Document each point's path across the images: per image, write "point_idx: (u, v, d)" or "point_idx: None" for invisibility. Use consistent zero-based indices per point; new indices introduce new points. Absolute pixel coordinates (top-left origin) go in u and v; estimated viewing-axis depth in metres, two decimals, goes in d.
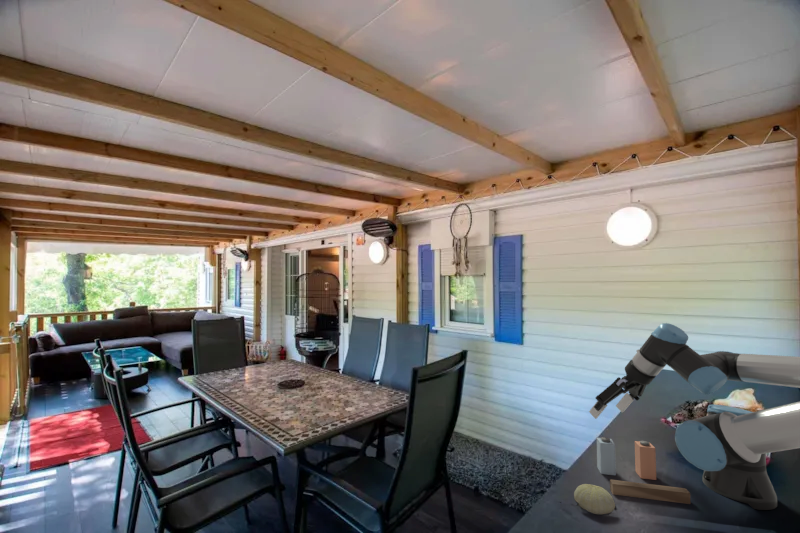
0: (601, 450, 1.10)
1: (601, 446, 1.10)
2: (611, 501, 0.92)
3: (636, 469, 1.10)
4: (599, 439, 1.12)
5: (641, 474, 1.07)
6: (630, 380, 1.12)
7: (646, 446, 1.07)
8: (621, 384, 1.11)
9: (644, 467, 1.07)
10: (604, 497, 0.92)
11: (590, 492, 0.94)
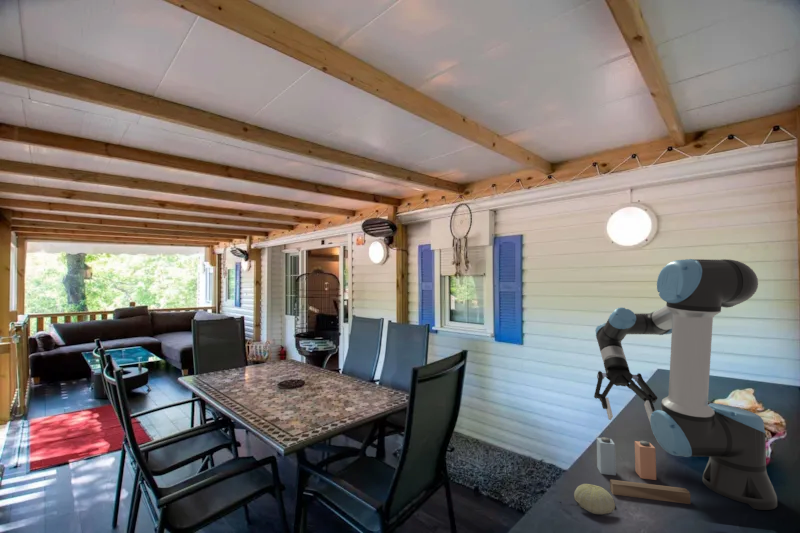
0: (601, 450, 1.10)
1: (601, 446, 1.10)
2: (611, 501, 0.92)
3: (636, 469, 1.10)
4: (599, 439, 1.12)
5: (641, 474, 1.07)
6: (606, 370, 1.32)
7: (646, 446, 1.07)
8: (598, 373, 1.31)
9: (644, 467, 1.07)
10: (604, 497, 0.92)
11: (590, 491, 0.94)
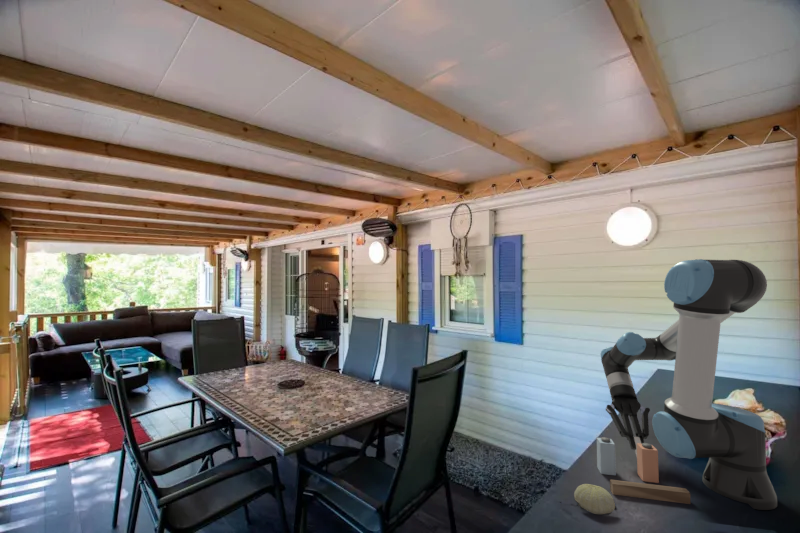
0: (601, 450, 1.10)
1: (601, 446, 1.10)
2: (611, 501, 0.92)
3: (638, 472, 1.08)
4: (599, 439, 1.12)
5: (643, 477, 1.05)
6: None
7: (648, 448, 1.06)
8: (607, 408, 1.22)
9: (646, 470, 1.05)
10: (604, 497, 0.93)
11: (590, 491, 0.94)
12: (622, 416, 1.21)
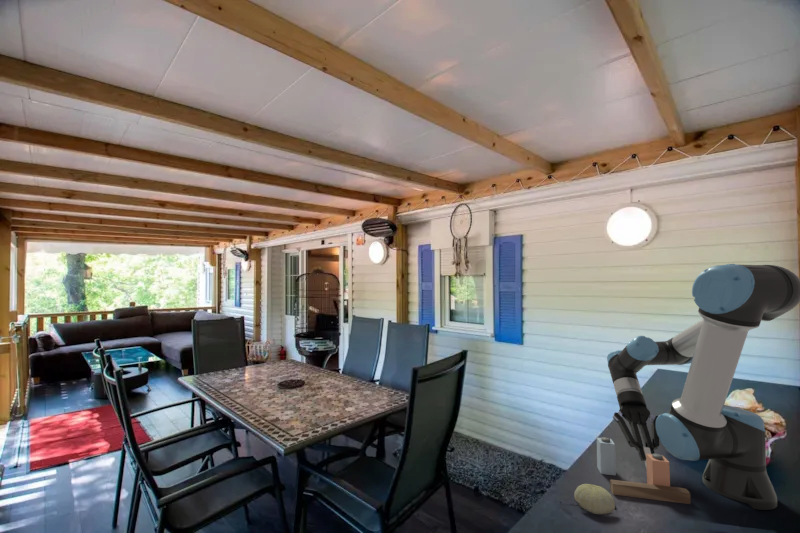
0: (601, 450, 1.10)
1: (601, 446, 1.10)
2: (611, 501, 0.92)
3: None
4: (599, 439, 1.12)
5: None
6: None
7: (659, 460, 0.99)
8: (615, 416, 1.15)
9: (657, 482, 0.98)
10: (604, 497, 0.93)
11: (590, 491, 0.94)
12: (630, 424, 1.14)
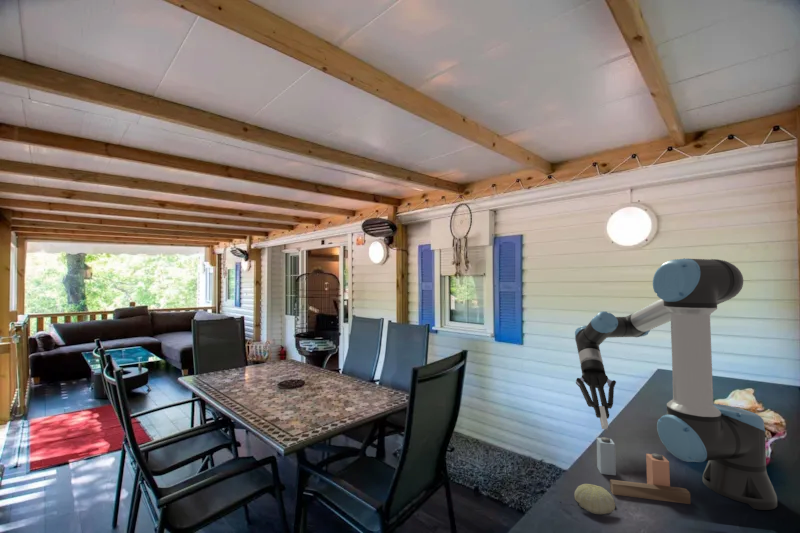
0: (601, 450, 1.10)
1: (601, 446, 1.10)
2: (611, 501, 0.92)
3: None
4: (599, 439, 1.12)
5: None
6: None
7: (659, 460, 0.99)
8: (577, 381, 1.31)
9: (657, 482, 0.98)
10: (604, 497, 0.93)
11: (590, 491, 0.94)
12: (590, 388, 1.29)
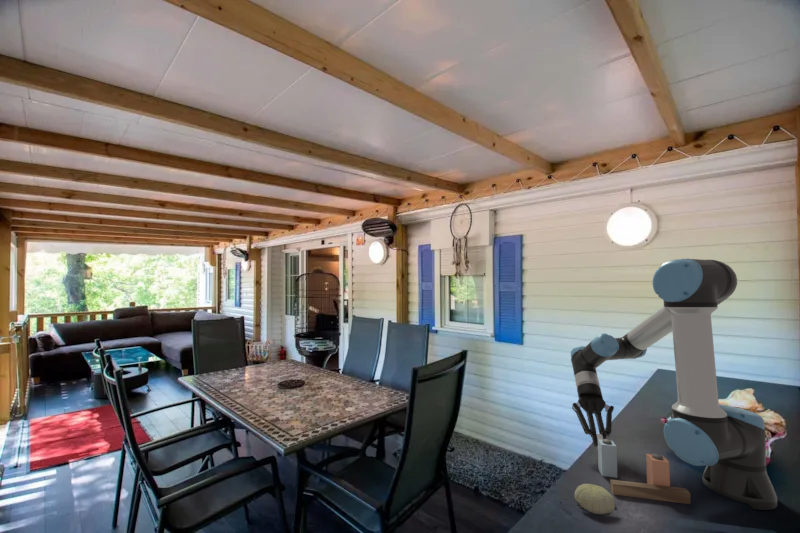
0: (602, 452, 1.08)
1: (602, 448, 1.08)
2: (611, 501, 0.92)
3: None
4: (600, 441, 1.11)
5: None
6: None
7: (659, 460, 0.99)
8: (573, 406, 1.25)
9: (657, 482, 0.98)
10: (604, 497, 0.93)
11: (590, 491, 0.94)
12: (587, 414, 1.23)
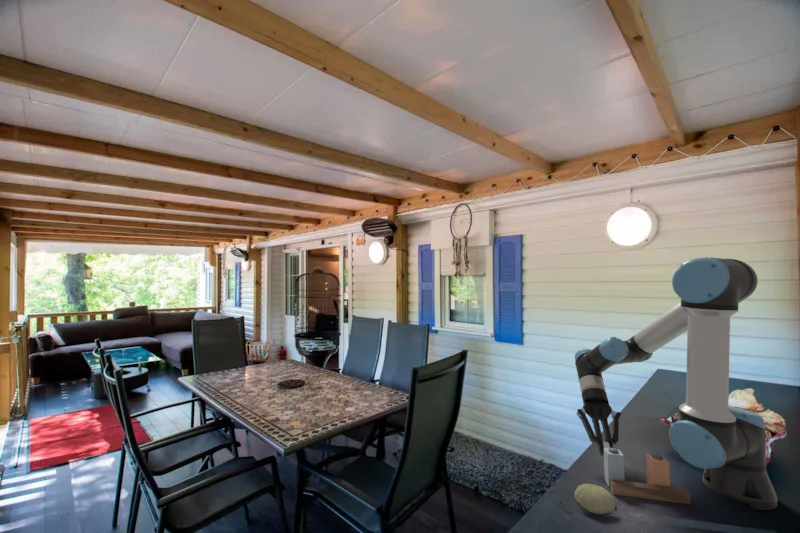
0: (609, 462, 1.02)
1: (609, 457, 1.02)
2: (611, 501, 0.92)
3: None
4: (606, 450, 1.05)
5: None
6: None
7: (659, 460, 0.99)
8: (578, 412, 1.19)
9: (657, 482, 0.98)
10: (604, 497, 0.93)
11: (590, 491, 0.94)
12: (593, 420, 1.18)
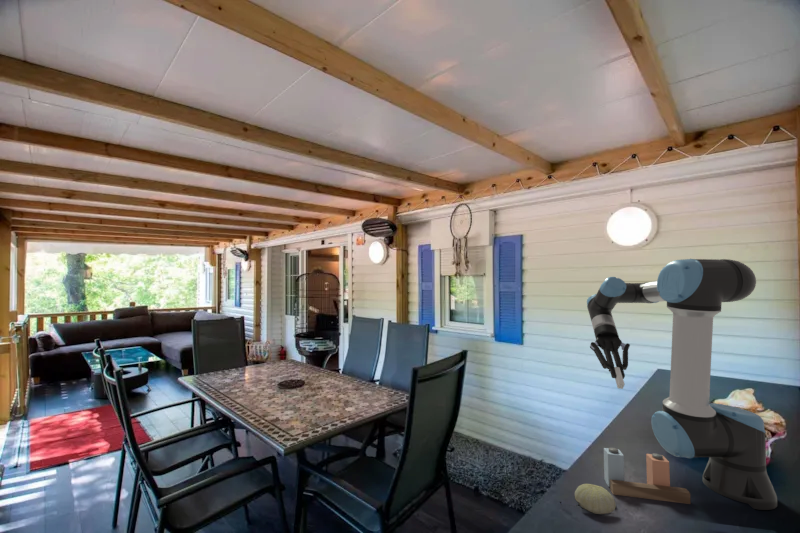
0: (609, 462, 1.02)
1: (609, 457, 1.02)
2: (612, 501, 0.92)
3: None
4: (606, 450, 1.05)
5: None
6: None
7: (659, 460, 0.99)
8: (591, 345, 1.33)
9: (657, 482, 0.98)
10: (604, 497, 0.93)
11: (590, 491, 0.94)
12: (605, 351, 1.32)
